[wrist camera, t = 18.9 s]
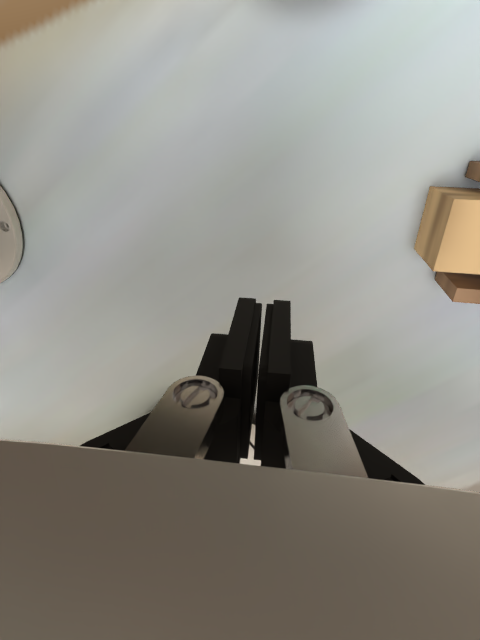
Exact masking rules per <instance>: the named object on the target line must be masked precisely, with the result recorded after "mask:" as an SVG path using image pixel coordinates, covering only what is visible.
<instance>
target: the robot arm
mask: <svg viewBox="0 0 480 640" xmlns="http://www.w3.org/2000/svg"><path fill="white" fill-rule="evenodd" d="M22 250H23V240H22V231H21V227H20V222H19V219H18V217H17V214H16V212H15V209H14V207H13V205H12V203H11V201H10V200H9V198H8V196H7V194H6V193H5V191H4V190H3V189H2V187H1V186H0V283H1V282H3V281H5V280H6V279H7V278H9V277H10V276H11V275H12V274H13V273H14V271H15V270H16V269H17V267H18V265H19V262H20V260H21V256H22ZM261 311H262V303H256V299H253V298H239V300H238V303H237V307H236V310H235V314H234V317H233V321H232V324H231V327H230V331H229V334H228V335H226V334H211V336H210V339H209V341H208V344H207V347H206V349H205V352H204V355H203V358H202V360H201V363H200V366H199V368H198V371H197V374H196V376H188V377H185V378H182V379H179V380H178V381H176V382H174V383H173V384H172V385H171V386H170V387H169V388H168V389H167V391H166V392H165V394H164V395H163V396H162V398H161V399H160V401H159V402H158V404H157V405H156V406H155V408H154V409H153V411H152V412H151V413H149V414H146V415H144V416H142V417H140V418H138V419H135V420H133V421H131V422H129V423H127V424H125V425H122V426H120V427H118V428H116V429H114V430H111V431H109V432H107V433H105V434H103V435H101V436H98V437H96V438H94V439H92V440H90V441H87V442H86V443H84V444H82V445H80V446H74V445H64V444H55V443H46V442H35V441H22V440H8V439H0V640H480V492H475V491H468V490H461V489H455V488H446V487H438V486H429V485H425V484H424V483H423V482H421V481H420V480H419V479H418V478H417V477H415V476H414V475H412V474H411V473H410V472H408V471H407V470H405V469H404V468H403V467H401V466H400V465H399V464H397V463H396V462H394V461H393V460H392V459H390V458H389V457H387V456H386V455H385V454H383V453H382V452H380V451H379V450H378V449H376V448H375V447H373V446H372V445H371V444H369V443H368V442H366V441H365V440H364V439H362V438H361V437H360V436H358V435H357V434H355V433H354V432H353V431H351V430H350V429H349V428H348V425H347V423H346V420H345V418H344V415H343V413H342V410H341V407H340V405H339V403H338V401H337V400H336V398H335V397H334V396H333V395H331V394H330V393H329V392H327V391H325V390H323V389H321V388H318V387H317V380H316V371H315V361H314V352H313V343H312V341H302V340H291V320H290V301H282V300H274V304H267V308H266V316H265V324H264V332H263V340H262V348H261V356H260V364H259V348H260V330H261ZM258 366H259V374H258ZM257 380H258V390H257V408H256V426H255V444H254V460H261V466H257V465H248V464H240V459H241V458H243V459H248V453H249V445H250V436H251V428H252V420H253V412H254V404H255V396H256V388H257Z"/></svg>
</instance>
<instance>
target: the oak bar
mask: <svg viewBox="0 0 480 640" xmlns="http://www.w3.org/2000/svg"><path fill="white" fill-rule="evenodd" d="M414 249H415V250H416V252H417V253H418V254H419V255H420V256H421V257H422V259H423V260H424V261H425V262H426V263H427V264H428V266H429V267H430V268H431V269H432V270H433V271H438V272H452V273H466V274H480V189H477V188H454V187H430V188H429V192H428V196H427V200H426V204H425V208H424V212H423V216H422V219H421V223H420V227H419V231H418V235H417V239H416V243H415V247H414Z"/></svg>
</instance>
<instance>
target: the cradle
mask: <svg viewBox="0 0 480 640" xmlns="http://www.w3.org/2000/svg"><path fill="white" fill-rule="evenodd" d="M465 177H467V178H470V179H473V180H475V181H478V182H480V161H470V163H469V166H468V169H467V173H466V176H465ZM435 281H436V282H437V283H438V284H439V285H440V287H441V288H442V289H443V290H444V292H445V293H446V294H447V295H448V296H449V298H450V299H451V300H452V301H453V302H463V303H476V304H480V274H466V273H452V272H438V271H437V274H436V277H435Z"/></svg>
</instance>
